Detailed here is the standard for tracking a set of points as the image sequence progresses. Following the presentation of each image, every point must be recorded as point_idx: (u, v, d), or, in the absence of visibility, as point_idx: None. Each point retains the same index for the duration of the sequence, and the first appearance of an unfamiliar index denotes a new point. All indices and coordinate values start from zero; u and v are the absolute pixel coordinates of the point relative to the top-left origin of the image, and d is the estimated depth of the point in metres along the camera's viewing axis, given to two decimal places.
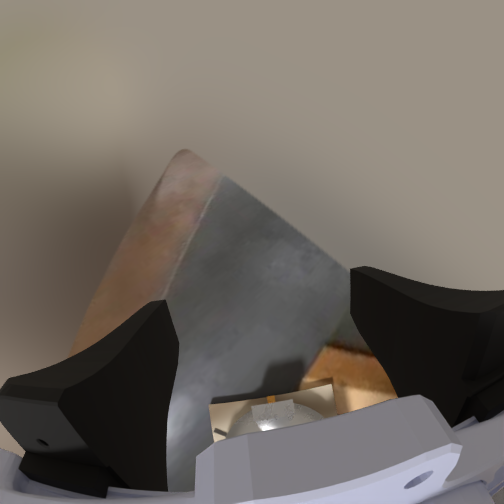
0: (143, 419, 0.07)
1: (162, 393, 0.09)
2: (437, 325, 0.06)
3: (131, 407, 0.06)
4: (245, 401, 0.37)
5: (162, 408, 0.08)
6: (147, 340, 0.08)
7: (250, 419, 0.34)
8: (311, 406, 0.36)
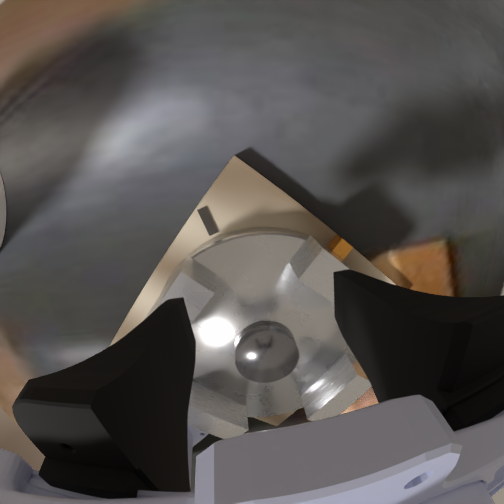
0: (167, 418, 0.07)
1: (182, 392, 0.09)
2: (413, 333, 0.06)
3: (157, 406, 0.06)
4: (298, 206, 0.19)
5: (183, 407, 0.08)
6: (168, 338, 0.08)
7: (284, 253, 0.17)
8: None
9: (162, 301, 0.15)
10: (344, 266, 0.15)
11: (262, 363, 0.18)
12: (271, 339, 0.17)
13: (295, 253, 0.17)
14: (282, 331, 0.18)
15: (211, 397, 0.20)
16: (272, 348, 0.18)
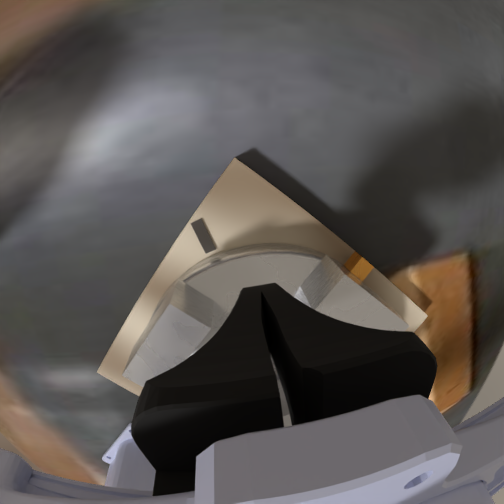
0: None
1: None
2: (290, 365, 0.06)
3: None
4: (310, 218, 0.16)
5: None
6: (263, 325, 0.08)
7: (295, 276, 0.14)
8: None
9: (149, 336, 0.12)
10: (368, 294, 0.12)
11: None
12: None
13: (307, 276, 0.14)
14: None
15: None
16: (279, 384, 0.15)
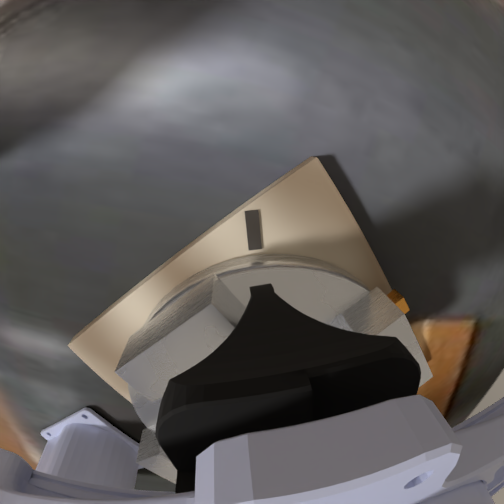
0: None
1: None
2: None
3: None
4: (366, 246, 0.14)
5: None
6: None
7: (340, 302, 0.13)
8: None
9: (168, 336, 0.10)
10: (414, 338, 0.11)
11: None
12: None
13: (352, 305, 0.13)
14: None
15: None
16: None
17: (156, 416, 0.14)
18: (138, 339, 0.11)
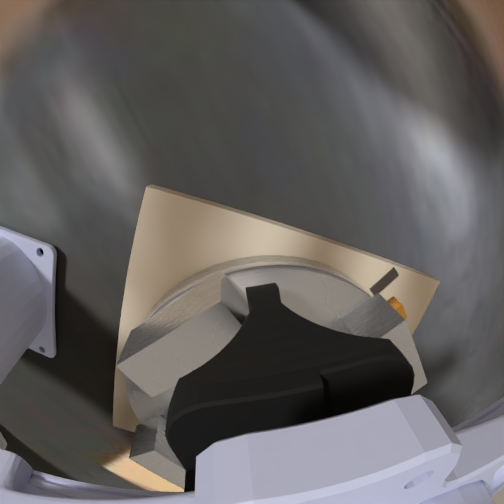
0: None
1: None
2: None
3: None
4: None
5: None
6: None
7: (342, 306, 0.13)
8: None
9: (174, 331, 0.10)
10: (412, 344, 0.11)
11: None
12: None
13: (353, 309, 0.13)
14: None
15: None
16: None
17: (151, 412, 0.14)
18: (141, 333, 0.11)
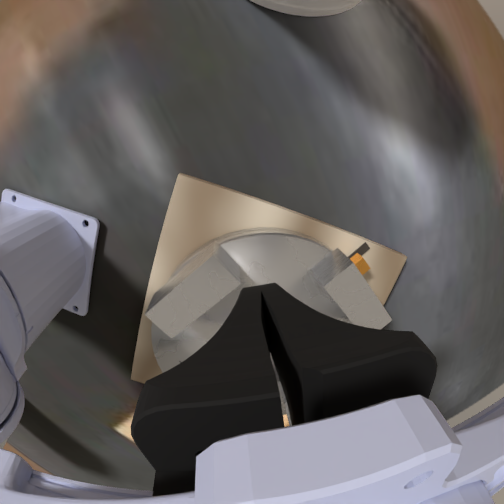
0: None
1: None
2: (290, 365, 0.06)
3: None
4: None
5: None
6: (263, 324, 0.08)
7: (309, 260, 0.17)
8: None
9: (184, 281, 0.15)
10: (366, 283, 0.15)
11: None
12: None
13: (319, 262, 0.17)
14: None
15: None
16: None
17: (173, 364, 0.19)
18: (161, 291, 0.16)
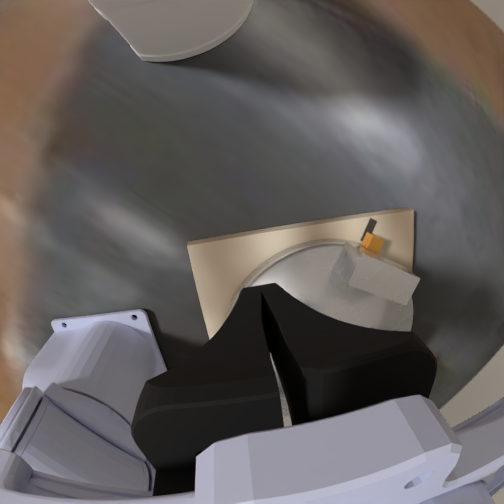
0: None
1: None
2: (290, 365, 0.06)
3: None
4: (410, 270, 0.22)
5: None
6: (263, 324, 0.08)
7: (327, 263, 0.19)
8: None
9: None
10: (382, 263, 0.17)
11: None
12: None
13: (337, 260, 0.19)
14: None
15: None
16: None
17: None
18: None
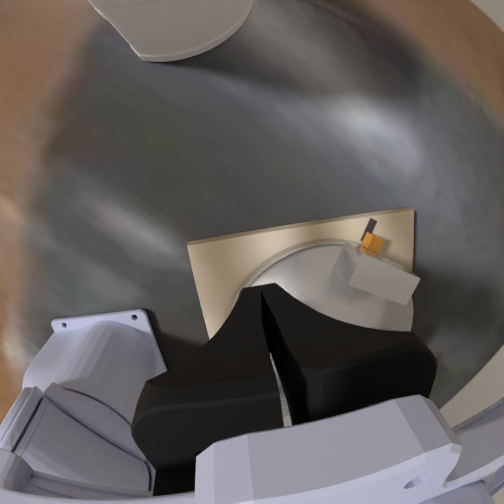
0: None
1: None
2: (290, 365, 0.06)
3: None
4: (410, 270, 0.22)
5: None
6: (263, 324, 0.08)
7: (327, 263, 0.19)
8: None
9: None
10: (382, 263, 0.17)
11: None
12: None
13: (337, 260, 0.19)
14: None
15: None
16: None
17: None
18: None
